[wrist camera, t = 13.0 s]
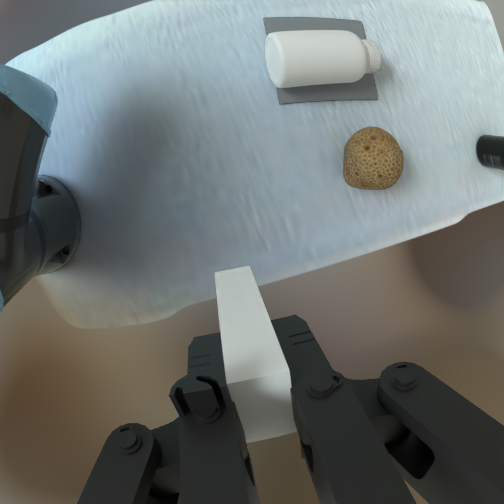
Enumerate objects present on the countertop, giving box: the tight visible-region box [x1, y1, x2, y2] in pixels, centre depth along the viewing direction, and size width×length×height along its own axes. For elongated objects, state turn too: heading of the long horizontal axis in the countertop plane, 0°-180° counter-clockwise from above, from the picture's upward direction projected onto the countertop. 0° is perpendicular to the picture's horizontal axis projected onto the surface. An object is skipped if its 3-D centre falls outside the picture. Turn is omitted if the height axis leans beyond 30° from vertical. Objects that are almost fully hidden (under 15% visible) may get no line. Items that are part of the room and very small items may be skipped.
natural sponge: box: [343, 127, 403, 190], centre depth 38 cm, size 9×9×10 cm
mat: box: [263, 17, 378, 104], centre depth 36 cm, size 16×14×1 cm
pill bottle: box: [265, 30, 381, 88], centre depth 33 cm, size 8×8×15 cm
